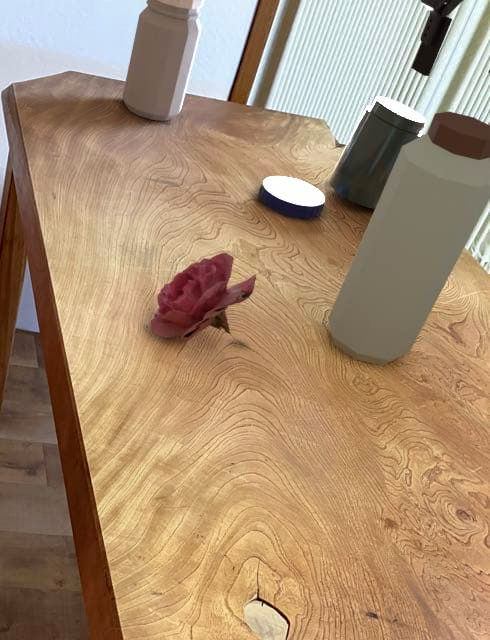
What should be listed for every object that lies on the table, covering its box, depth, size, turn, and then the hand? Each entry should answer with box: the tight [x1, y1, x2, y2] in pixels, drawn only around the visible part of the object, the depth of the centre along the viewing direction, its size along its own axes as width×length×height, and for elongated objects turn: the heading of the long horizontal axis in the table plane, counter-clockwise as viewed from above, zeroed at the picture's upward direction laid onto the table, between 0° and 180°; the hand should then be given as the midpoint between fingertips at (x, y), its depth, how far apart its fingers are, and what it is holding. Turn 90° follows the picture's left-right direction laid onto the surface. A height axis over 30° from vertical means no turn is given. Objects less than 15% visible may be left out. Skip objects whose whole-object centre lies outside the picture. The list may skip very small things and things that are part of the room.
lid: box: [258, 175, 326, 220], centre depth 128 cm, size 9×9×2 cm
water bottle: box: [327, 111, 490, 366], centre depth 95 cm, size 10×10×25 cm
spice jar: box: [327, 96, 427, 210], centre depth 130 cm, size 9×9×13 cm
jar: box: [122, 0, 205, 122], centre depth 139 cm, size 10×10×18 cm
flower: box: [150, 252, 257, 346], centre depth 96 cm, size 11×10×10 cm
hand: (459, 74), depth 116 cm, fingers open, 13 cm apart
